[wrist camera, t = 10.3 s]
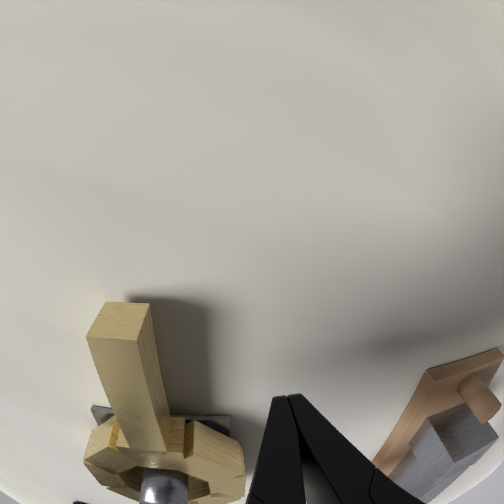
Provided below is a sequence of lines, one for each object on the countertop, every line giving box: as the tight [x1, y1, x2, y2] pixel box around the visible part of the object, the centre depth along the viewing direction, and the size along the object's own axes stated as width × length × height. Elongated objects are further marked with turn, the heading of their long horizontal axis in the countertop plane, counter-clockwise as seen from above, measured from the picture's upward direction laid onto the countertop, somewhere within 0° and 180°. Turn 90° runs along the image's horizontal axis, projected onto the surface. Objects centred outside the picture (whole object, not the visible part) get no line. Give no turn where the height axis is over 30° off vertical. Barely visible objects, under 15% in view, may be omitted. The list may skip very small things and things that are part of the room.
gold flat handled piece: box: [83, 302, 246, 504], centre depth 11 cm, size 14×8×2 cm, turn 177°
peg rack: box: [372, 348, 504, 476], centre depth 15 cm, size 19×7×4 cm, turn 177°
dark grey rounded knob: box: [91, 406, 230, 504], centre depth 12 cm, size 7×7×4 cm
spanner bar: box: [387, 403, 499, 504], centre depth 14 cm, size 12×4×4 cm, turn 177°
